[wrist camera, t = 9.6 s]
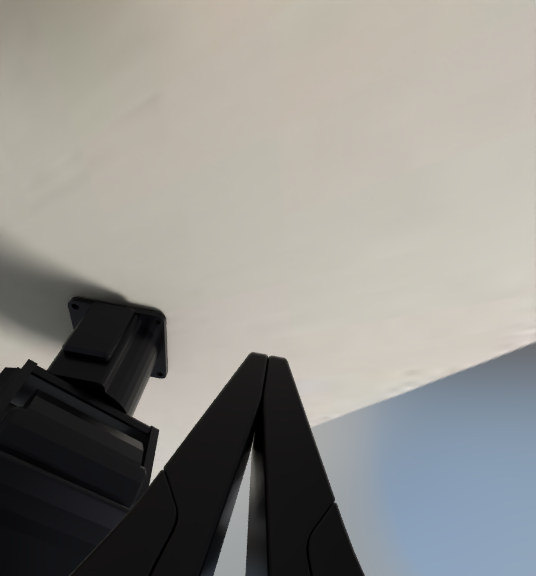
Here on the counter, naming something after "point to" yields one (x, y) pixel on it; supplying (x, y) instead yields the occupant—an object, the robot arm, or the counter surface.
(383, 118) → the counter surface
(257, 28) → the counter surface
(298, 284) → the counter surface
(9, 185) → the counter surface
